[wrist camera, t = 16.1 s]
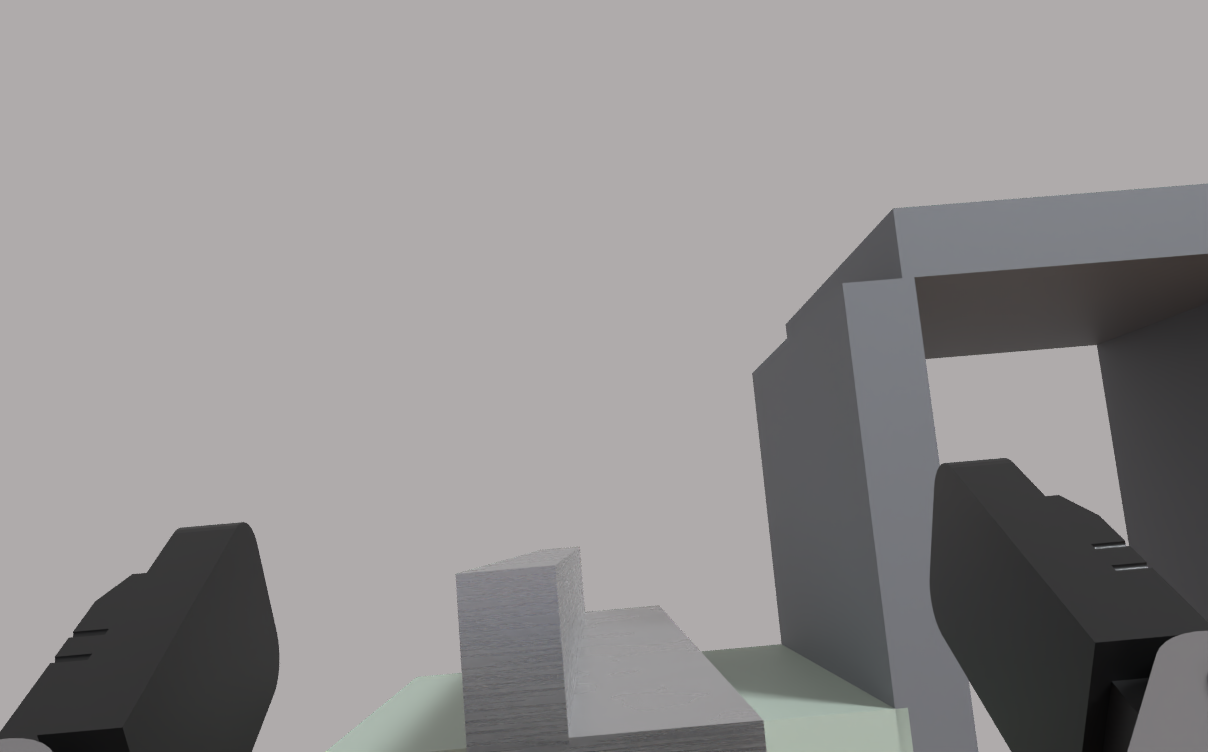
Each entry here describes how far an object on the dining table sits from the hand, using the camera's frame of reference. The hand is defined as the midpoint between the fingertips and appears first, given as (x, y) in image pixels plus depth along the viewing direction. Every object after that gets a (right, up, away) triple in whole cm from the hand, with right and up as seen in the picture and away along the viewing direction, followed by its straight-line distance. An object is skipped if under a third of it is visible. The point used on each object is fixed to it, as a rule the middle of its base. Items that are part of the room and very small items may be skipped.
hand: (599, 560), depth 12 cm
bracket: (0, -5, +10) cm, 11 cm away
